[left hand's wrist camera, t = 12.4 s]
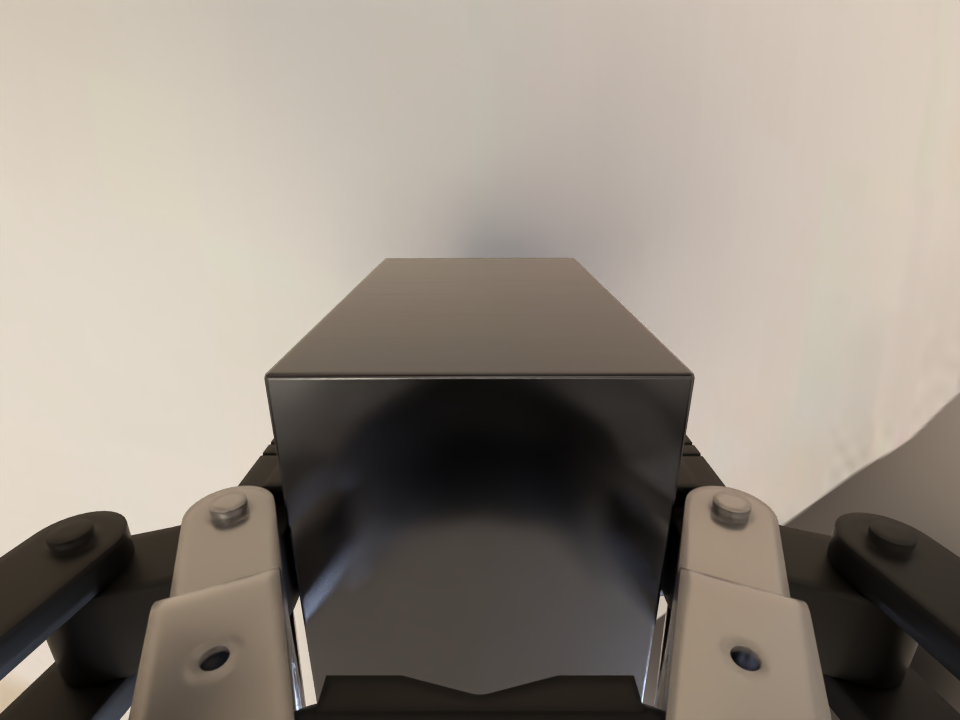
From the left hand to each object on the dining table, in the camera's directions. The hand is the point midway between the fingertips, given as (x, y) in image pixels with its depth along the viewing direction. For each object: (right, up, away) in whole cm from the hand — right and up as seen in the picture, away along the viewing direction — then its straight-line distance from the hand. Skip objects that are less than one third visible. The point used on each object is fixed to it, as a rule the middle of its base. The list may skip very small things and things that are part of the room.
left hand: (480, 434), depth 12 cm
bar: (0, -6, +7) cm, 10 cm away
